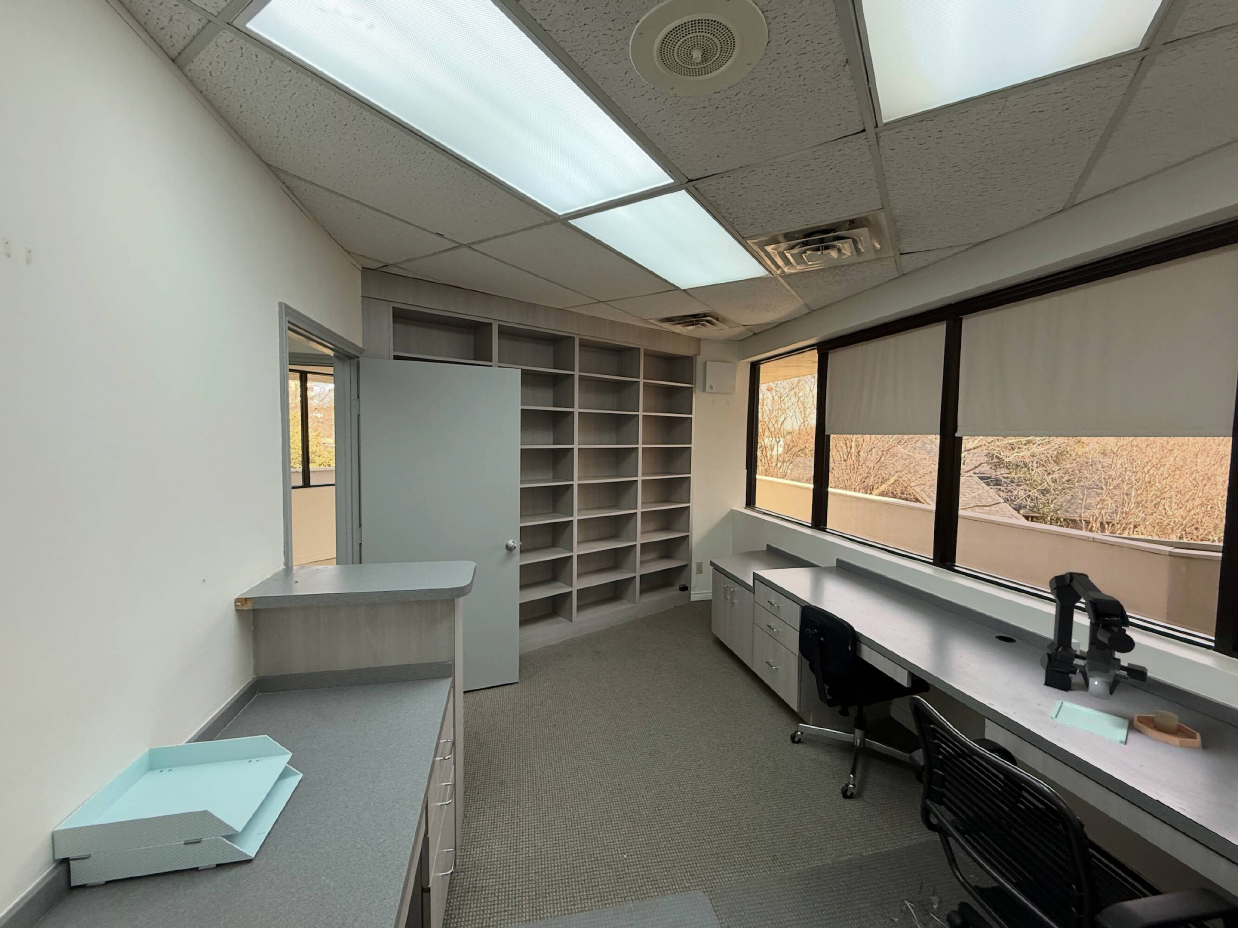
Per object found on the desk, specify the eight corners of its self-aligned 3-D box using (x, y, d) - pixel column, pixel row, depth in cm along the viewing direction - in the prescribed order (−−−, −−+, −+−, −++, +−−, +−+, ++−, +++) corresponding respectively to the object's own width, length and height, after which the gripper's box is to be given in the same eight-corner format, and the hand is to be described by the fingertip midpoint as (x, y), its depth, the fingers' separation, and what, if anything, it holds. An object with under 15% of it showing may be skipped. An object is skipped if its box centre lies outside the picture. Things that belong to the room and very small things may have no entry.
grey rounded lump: (1087, 694, 144) (1088, 678, 144) (1089, 689, 147) (1090, 673, 147) (1109, 701, 141) (1110, 684, 140) (1110, 696, 144) (1111, 679, 143)
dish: (1132, 733, 143) (1133, 724, 143) (1134, 717, 151) (1135, 709, 151) (1200, 754, 133) (1200, 745, 133) (1198, 736, 142) (1199, 728, 142)
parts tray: (1049, 721, 149) (1049, 717, 149) (1058, 702, 160) (1058, 698, 160) (1124, 746, 137) (1124, 742, 136) (1128, 724, 148) (1128, 720, 148)
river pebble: (1153, 729, 144) (1154, 712, 144) (1154, 723, 147) (1155, 707, 147) (1177, 736, 141) (1178, 719, 141) (1177, 730, 144) (1178, 714, 144)
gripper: (1055, 636, 145) (1052, 687, 146) (1147, 658, 131) (1144, 714, 132) (1061, 628, 152) (1058, 676, 153) (1149, 647, 138) (1145, 700, 139)
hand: (1099, 691), depth 144 cm, fingers closed on grey rounded lump, 5 cm apart
